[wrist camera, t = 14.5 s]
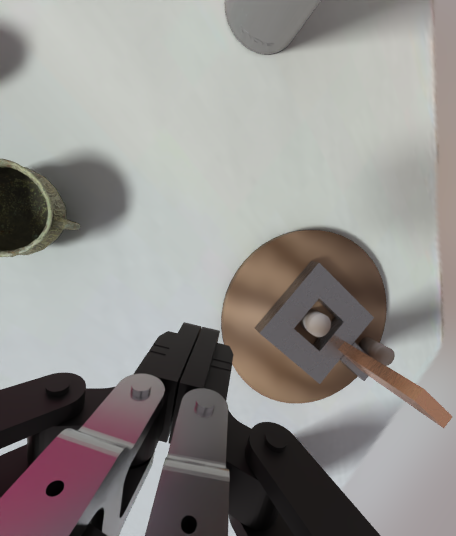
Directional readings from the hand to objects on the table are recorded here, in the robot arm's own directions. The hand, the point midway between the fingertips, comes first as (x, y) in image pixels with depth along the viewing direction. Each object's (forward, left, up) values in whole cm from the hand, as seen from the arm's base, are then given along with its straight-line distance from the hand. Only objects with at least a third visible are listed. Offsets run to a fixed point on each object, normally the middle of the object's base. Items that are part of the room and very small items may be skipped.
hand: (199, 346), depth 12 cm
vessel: (-1, -16, -25) cm, 30 cm away
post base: (+1, +20, -25) cm, 32 cm away
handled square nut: (+2, +22, -23) cm, 32 cm away
